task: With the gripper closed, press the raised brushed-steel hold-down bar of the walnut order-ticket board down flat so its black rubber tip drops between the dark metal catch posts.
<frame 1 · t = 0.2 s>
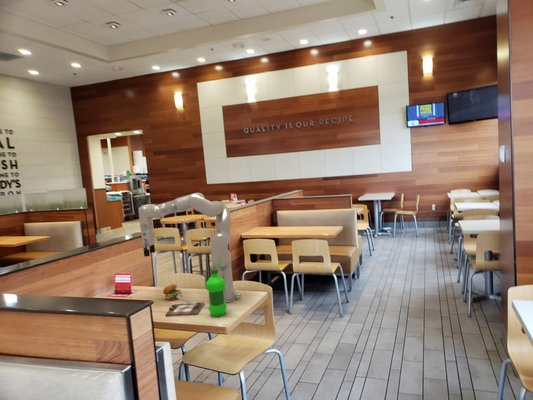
hand: (149, 254, 237), 31 cm above the table, fingers open, 9 cm apart
plastic bottle: (218, 314, 212), on the table
cheeseburger: (173, 298, 247), on the table
hold down bar: (186, 300, 222), point 6 cm above the table, hinge at 30.0°
ticket board: (185, 310, 223), on the table
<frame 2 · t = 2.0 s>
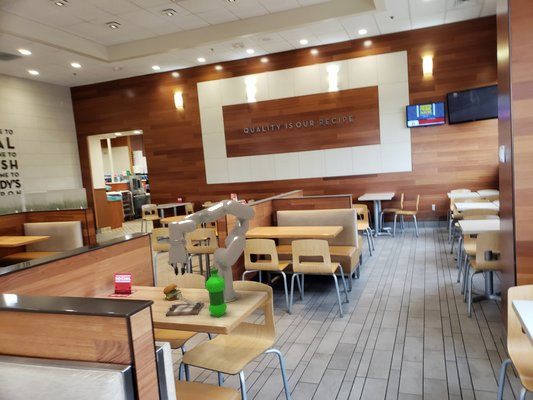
hand: (180, 274, 221), 21 cm above the table, fingers closed
nothing on the table moved.
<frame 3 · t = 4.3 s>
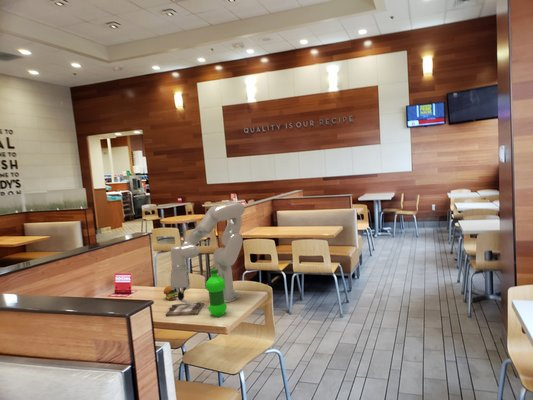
hand: (181, 299, 222), 7 cm above the table, fingers closed
hold down bar: (185, 301, 222), point 5 cm above the table, hinge at 25.0°, touching gripper
everything else where it was.
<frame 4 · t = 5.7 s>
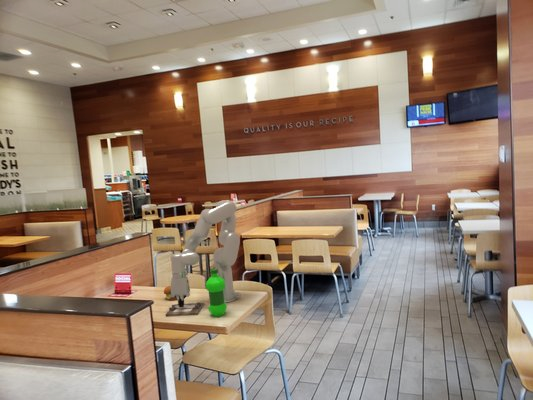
hand: (181, 306, 222), 3 cm above the table, fingers closed
hold down bar: (185, 306, 222), point 2 cm above the table, hinge at 2.8°, touching gripper
everything else where it was.
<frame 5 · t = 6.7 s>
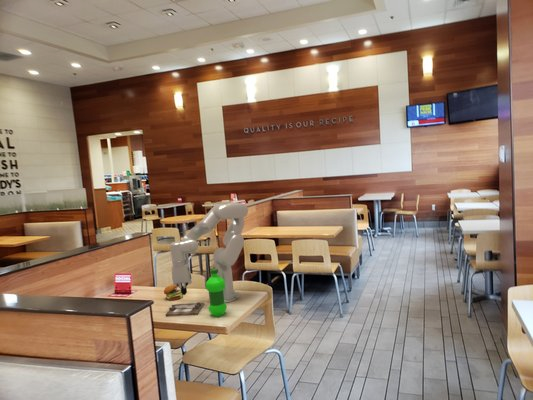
hand: (184, 294, 222), 9 cm above the table, fingers closed
hold down bar: (185, 306, 222), point 2 cm above the table, hinge at 2.3°
everything else where it was.
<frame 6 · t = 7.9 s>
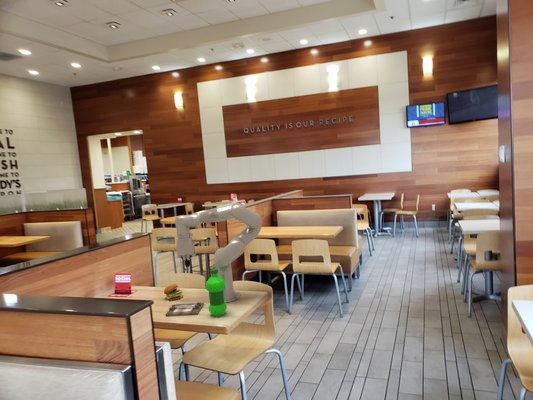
hand: (187, 266, 232), 23 cm above the table, fingers closed
nothing on the table moved.
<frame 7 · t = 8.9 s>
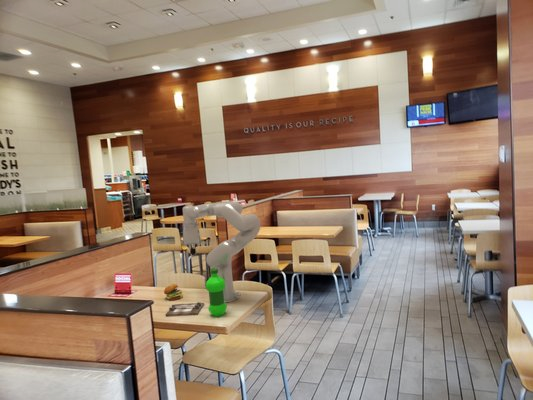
hand: (193, 254, 243), 27 cm above the table, fingers closed
nothing on the table moved.
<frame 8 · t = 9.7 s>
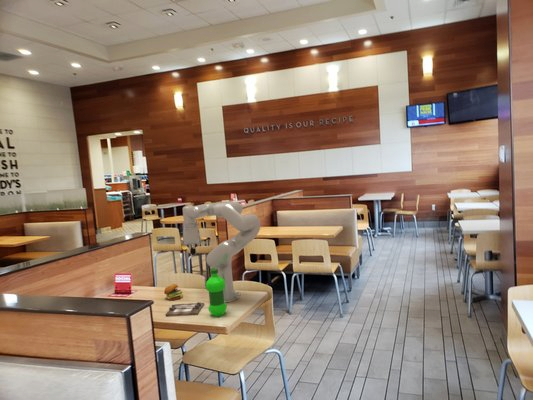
hand: (193, 254, 243), 27 cm above the table, fingers closed
nothing on the table moved.
at the end: hold down bar at +2° (first picture: +30°); cheeseburger moved 0.8 cm from its start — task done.
